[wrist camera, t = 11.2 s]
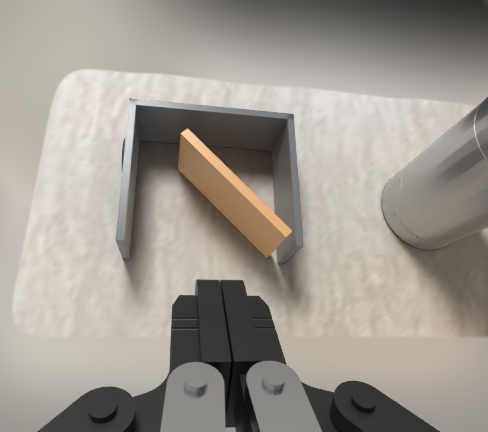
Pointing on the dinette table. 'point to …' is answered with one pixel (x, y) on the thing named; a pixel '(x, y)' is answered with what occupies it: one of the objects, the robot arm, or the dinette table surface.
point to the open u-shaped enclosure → (220, 135)
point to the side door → (230, 195)
